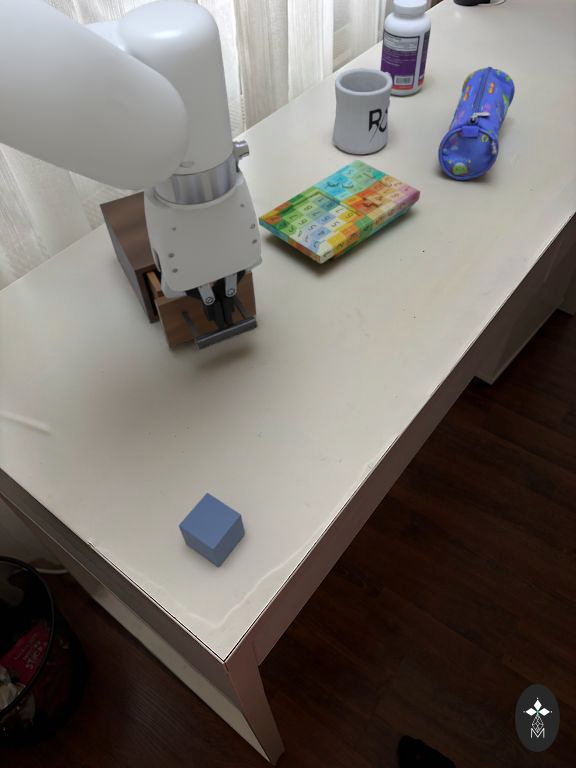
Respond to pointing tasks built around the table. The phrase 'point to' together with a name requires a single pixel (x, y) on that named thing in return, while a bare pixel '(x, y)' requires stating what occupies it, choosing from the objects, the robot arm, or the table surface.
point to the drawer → (200, 313)
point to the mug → (362, 110)
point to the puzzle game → (340, 211)
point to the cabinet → (132, 244)
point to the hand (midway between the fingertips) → (221, 319)
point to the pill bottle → (406, 45)
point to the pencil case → (476, 124)
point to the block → (212, 529)
